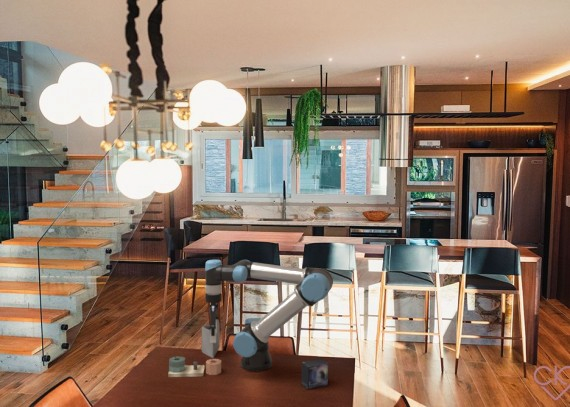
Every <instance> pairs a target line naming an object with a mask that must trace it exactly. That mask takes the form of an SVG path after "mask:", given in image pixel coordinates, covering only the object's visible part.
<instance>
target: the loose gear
mask: <svg viewBox="0 0 570 407" xmlns="http://www.w3.org/2000/svg"><path fill="white" fill-rule="evenodd" d="M205 373H206V374H207V375H209V376H217V375H219V374H222V360H221V359H219V358H210V359H207V360H206V361H205Z"/></svg>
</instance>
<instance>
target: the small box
mask: <svg viewBox="0 0 570 407" xmlns="http://www.w3.org/2000/svg"><path fill="white" fill-rule="evenodd" d="M328 374H329V362H327V361H326V360H324V359H322V358H318V359H312V360H307V361H305V360H304V361H302V362H301V382H300V384H301V386H303V387H304V389H306V390H313V389H316V388H323V387H327V386H328V385H329V383H328V381H329V375H328Z"/></svg>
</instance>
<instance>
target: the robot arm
mask: <svg viewBox="0 0 570 407" xmlns="http://www.w3.org/2000/svg"><path fill="white" fill-rule="evenodd" d="M222 263H223V262H222V260H220V259H209V260H207V261H206V262H205V269H204V272H205V273H204V274H205V278H204V279H205V283H204V284H205V286H204V287H203V288H204V289H205V302H206V303H209V306H208V307H209V308H208V310H209V318H210V319H209V325H210V327H209V329H210V343H216V333H217V320H216V319H218V320H219V316H218V309H219V304H218V303H221V302H222V300H223V299H222V298H223V296H222V291H223V290H222V289H223V287H222V286H223V284H222V283H223V282H228V283H229V282H231V283H245V282H246V281H247V278H249V279H258V280H263V281H264V280H265V281H272V282H280V283H287V284H293V285H295V288H294V289H295V290H294V291H293V292H292V293H291V294H289V295H288V296H287V297H286V298H284V299H283V300H282V301H281V302H280V303H278V304H277V305H276V306H274V307H273V308H272V309H271V310H270V311H269V312H267V313H266V314H265V315H264V316H262V318H261V317H249V318H246V319H245V320H244V327H243V328H242V329H241V330H240V331H239V332H238V333H236V335H235V336H234V338H233V341H232V345H233V349H234V351H235V353H236V354H238V355H239V356H240V357H241V360H240V367H241V368H242V369H244V370H246V371H250V372H251V371H252V372H261V371H266V370H269V369H270V368H271V367H273V366H272V365H273V359H272V357H271V353H270V350H269V342H270V337H271V336H272V335H273V334H274V333H276V332H277V331H278V330H279V329H280V328H282V327H283V326H284V325H286V323H288V322H289V321H290V320H292V319H294V317H296V315H298V314H299V313H300V312H301V311H302V310H304V309H305V308H306V307H314V306H315V305H316V304H317V303H318V302H320V301H322V300H324V299H325V298H326V297H327V296H328V294H329V293H330V291H331V289H332V287H333V285H334V279H333V276H332V274H331V273H330V271H328V270H327V269H324V268H318V267H309V266H307V267H304V268H301V267H294V266H293V267H292V266H284V265H276V264H268V263H261V262H254V261H250V260H248V259H242V260H239V261H238V262H236V263H234V264H232V265H231V264H230V265H229V264H227V265H226V264H222Z"/></svg>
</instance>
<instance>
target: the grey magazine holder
mask: <svg viewBox="0 0 570 407" xmlns="http://www.w3.org/2000/svg"><path fill="white" fill-rule="evenodd" d="M216 320H217V333H216V343H210V329H209V327H210V324H207V325H204V326H201V353H203V354H205V355H206V356H207V357H210V358H211V359H215V356H216V354H217V352H218V351H219V349H220V337H221V336H220V328H221V326H220V321H219V318H218V319H216Z"/></svg>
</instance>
